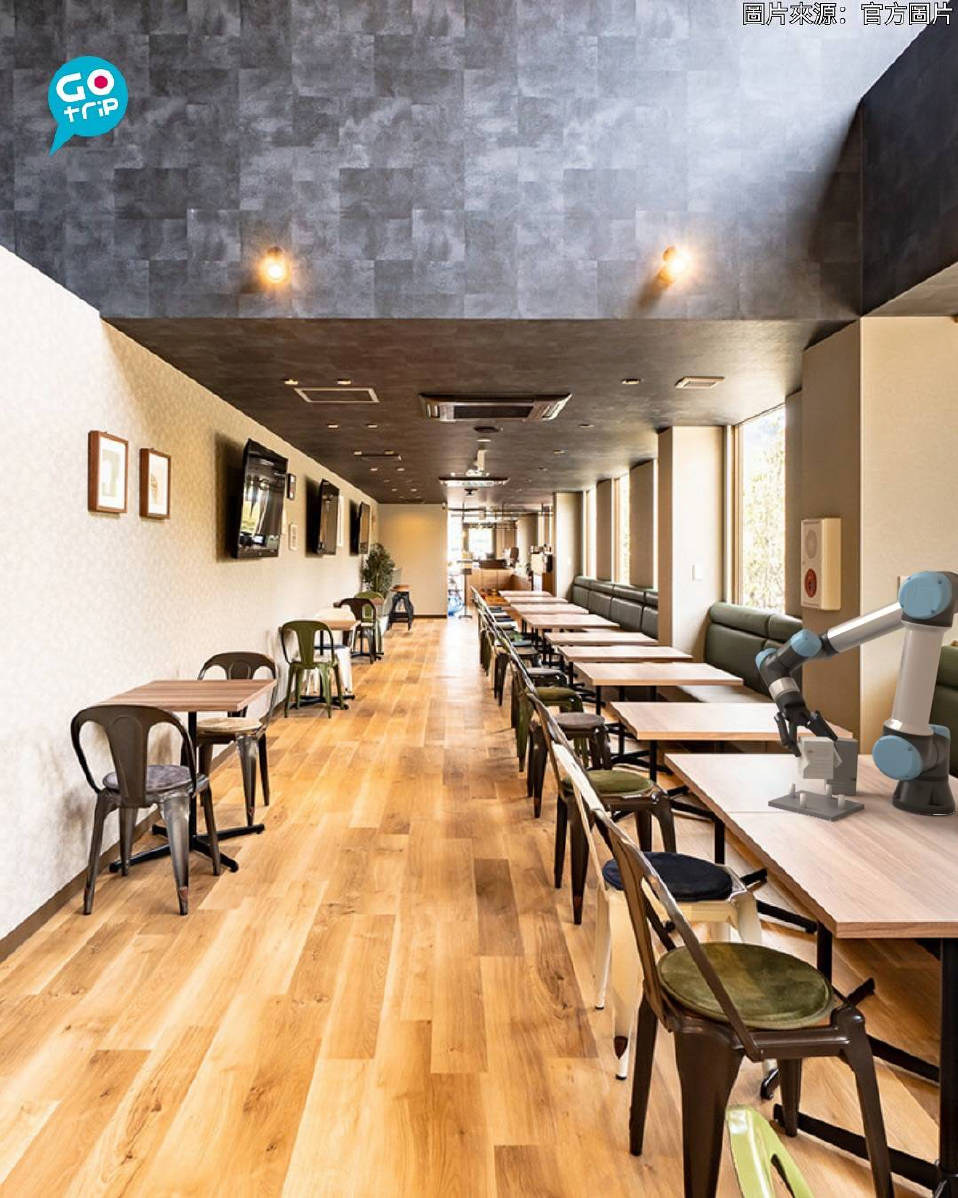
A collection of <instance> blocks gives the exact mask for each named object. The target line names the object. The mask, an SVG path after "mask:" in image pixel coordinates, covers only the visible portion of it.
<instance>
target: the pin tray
mask: <svg viewBox="0 0 958 1198" xmlns="http://www.w3.org/2000/svg"><path fill="white" fill-rule="evenodd" d="M788 788H789V790H788V794H786V795H784V796H780V797H777V798H775V799H771V800H768V801H767V805H768V806H769V807H773V808H776V809H779V810H780V809H781V810H784V811H788V812H792V813H796V812H798V813H797V814H800V813H801V814H800V815H804V814H806V815H805V816H808V815H810V816H809V817H812V816H814V817H813V818H816V817H817V819H820V818H821V820H824V819H825V821H828V820H831V821H830V822H834V821H833V820H835V821H837V820H840V819H842V818H844V817H847V816H849V815H851V813H852V814H854V813H856V812H857V813H858V812H859V811H861V810H862V811H863V809H865V806H866V805H865V803H862V802H857V801H852V800H849V799H846V795H843V794H837V795H838V797H834V796H833V794H832V785H829V784H827V785H826V790H825V794H821V793H817V792H812V791H808V790H804V789H800V790H797V791H796V784H795V783H789V786H788ZM853 812H854V813H853ZM848 814H849V815H848ZM846 815H847V816H846ZM839 818H840V819H839Z"/></svg>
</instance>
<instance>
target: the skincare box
mask: <svg viewBox="0 0 958 1198" xmlns="http://www.w3.org/2000/svg"><path fill="white" fill-rule="evenodd" d="M837 737H838V739H837V740H836V741H835V742H834V744H835V746H836V748H837V750H838V755H839V757H840V759H841V760H842V763H841V764H840V765H839V766H838V767H834V765H833V779H823V788H824V791H826V785H827V784H829V785H832V795H839V794H843V795H845V796H854V797H855V796H856V795H857V782H858V764H859V763H858V761H859V760H858V759H859V745H860V744H859V741H858V740H857V739H856V738H854V737H852V738H850V737H844V736H837Z"/></svg>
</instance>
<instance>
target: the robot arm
mask: <svg viewBox="0 0 958 1198" xmlns="http://www.w3.org/2000/svg"><path fill="white" fill-rule="evenodd" d="M955 614H958V573H956V572H953V571H948V570H942V571H941V570H939V571H938V570H937V571H936V570H923V571H919V572H917V573H914V574H912V575H910V576H908V577H907V578H906V579H905V580H903V582H902V583H901V585H900V587H899V589H898V593H897V600H895V601H892V602H890V603H887V604H886V605H883V606H880V607H878V608H876V609H873V610H871V611H869V612H866V613H864V614H861V615H859V616H857V617H854V618H852V619H850V620H847V621H845V622H842V623H840V624H838V625H836V626H834V627H831V628H829V629H827V630H824V631H821V632H819V633H817V634H816V633H815V632H813V631H812V630H809V629H808V628H807V629H806V628H805V629H804V628H803V629H801V630H799V631H798V632H797V633H795V634H793V635H792V636H791V638H789V639H788V640H786V642H785V643H784V644H783V645H782V646H780V647H779V648H778V649H776V648H773V647H772V648H771V647H770V648H766V649H765V650H762V651H760V652H759V653H758V654H757V655H756V657H755V664H756V666H757V668H758V672H759V674H760V675H761V677H762V679H763V680H764V683H765V685H766V687H767V688H768V692H769V693H770V695H771V697H772V699H773V701H774V702H775V705H776V708H777V709H778V712H777V713H776V714H775V715H774V716H773V720H774V721H775V723H776V725H777V730H778V733H779V738H780V742H781V745H782V746H783V747H787V748H786V749H788V750H789V751H791V752H792V753H793V755H794V757H795V758H797V760H798V759H799V761H800V763H801V765H802V767H803V769H807V768H808V767H809V765H810V764H811V763H810V762H809V760H808V758H807V756H806V754H805V752H804V750H803V748H802V746H801V744H800V743H798V728H799V727H803V728H805V730H806V729H807V730H809V731H811V733H812V734H813V735H815V737H828V738H829V739H831V740H832V741H834V742H835V741H836V740H837V739H838V737H839V736H838V735H837V734H836V732H834V730H833V729H832V728H831V726H830V725H829V724H828V723H827V722H826V720H825V719H824V718H823V717H822V714H821V712H820V710H818V709H817V710H815V711H811V710H810V709H808V708H807V705H806V704H807V703H806V699H805V698H804V696H803V694H802V692H801V690H800V689H799V687H798V685H797V683H796V681H795V679H794V677H793V676H792V673H793V672H795V671H796V670H797V669H798V668H800V667H801V666H802V665H804V664H805V663H809V662H816V661H826V660H829V659H832V658H834V657H836V656H837V655H839V654H841V653H843V652H846V651H847V650H850V649H854V648H855V647H858V646H861V645H864V644H866V643H868V642H871V641H874V640H876V639H878V638H881V637H884V636H886V635H889V634H890V633H894V632H897V631H899V630H901V629H903V628H905V632H904V633H905V634H904V639H903V646H902V650H901V651H902V652H901V657H900V663H899V669H898V674H897V681H896V687H895V694H894V698H893V706H892V712H891V717H890V718H888V719H887V720H885V721H884V722H883V727H882V732H881V737H880V738H879V739H878V740H876V742H875V743H874V744H873V746H872V753H871V755H872V759H873V760H872V761H873V762H874V764H875V767H876V768H877V769H878V771H880V773H882V774H883V775H884V776H885V777H887V778H890V779H891V780H896V781H897V783H896V786H895V788H894V791H893V793H892V799H891V800H892V802H891V803H892V806H893V807H895V808H897V809H899V810H902V811H905V812H908V813H913V814H917V813H918V814H917V815H924V814H929V815H928V816H934V815H933V814H950V813H953V812H955V813H956V801H955V798H954V795H953V792H952V790H951V786H950V782H949V781H950V779H949V777H950V776H949V775H950V774H949V773H950V757H951V756H950V753H951V752H950V751H951V749H950V748H951V741H952V740H951V731H950V729H949V728H948V727H947V726H943V725H939V724H938V725H937V724H933V723H932V724H931V723H929V722H930V716H931V709H932V703H933V700H934V692H935V689H936V688H935V686H936V681H937V675H938V671H939V669H938V668H939V663H940V657H941V653H942V652H941V651H942V646H943V640H944V635H945V633H946V632H948V631H950V630H951V629H952V628H953V625H954V624H953V623H954V617H955ZM787 723H788V725H787ZM787 726H788V727H787ZM841 763H842V760H841V759H840V757H839V755H838V750H837V748H836V746H835V744H834V758H833V765H834V767H838V766H839V765H840V764H841ZM919 813H920V814H919ZM930 814H931V815H930ZM953 814H954V813H953ZM950 815H951V814H950Z"/></svg>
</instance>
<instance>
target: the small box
mask: <svg viewBox="0 0 958 1198" xmlns="http://www.w3.org/2000/svg"><path fill="white" fill-rule="evenodd" d="M798 743H800V744H801V746H802V748H803V750H804V752H805V754H806V756H807V758H808V760H809V762H810V763H811V764H810V765H809V767H808V768H807V769H803V767H802V765H801V763H800V761H799V759H798V758H797V775H798V776H800V778H802V779H804V780H806V779H808V780H824V779H833V758H834V741H832V740H831V739H829V738H828V737H817V736H797V744H798Z"/></svg>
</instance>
